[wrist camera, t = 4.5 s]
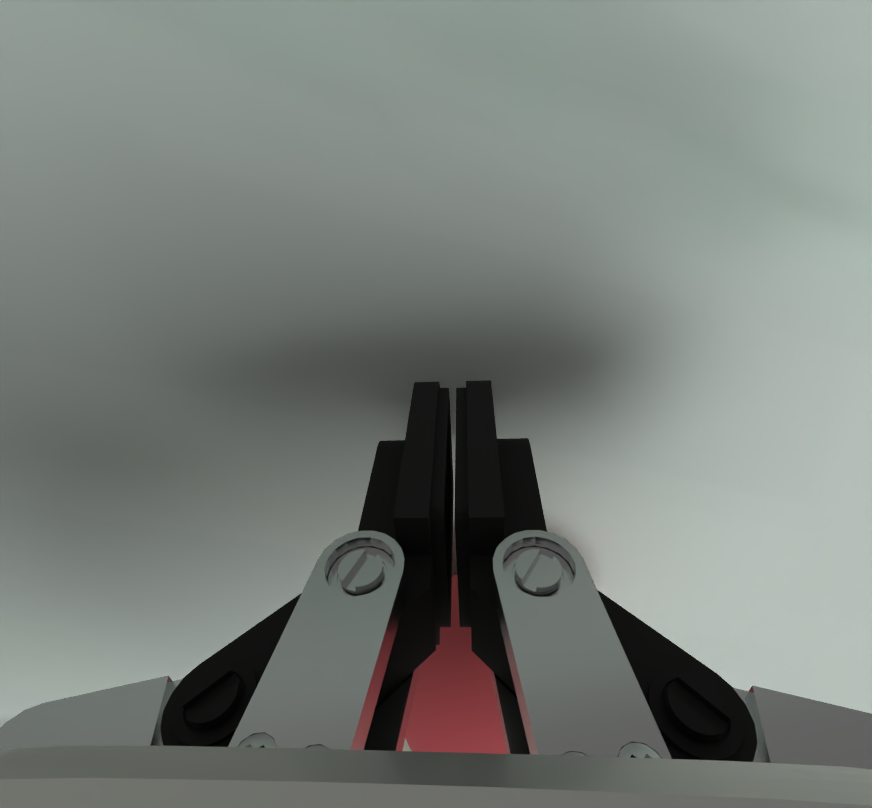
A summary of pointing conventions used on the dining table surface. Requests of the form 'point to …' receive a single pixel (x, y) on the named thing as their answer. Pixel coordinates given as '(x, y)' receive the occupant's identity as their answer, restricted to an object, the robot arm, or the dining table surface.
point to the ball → (455, 697)
